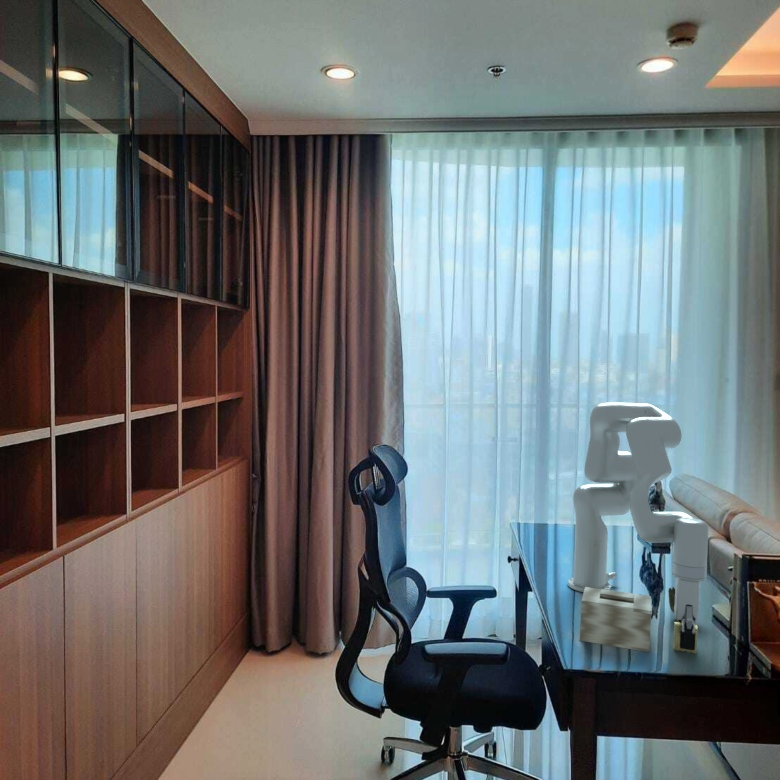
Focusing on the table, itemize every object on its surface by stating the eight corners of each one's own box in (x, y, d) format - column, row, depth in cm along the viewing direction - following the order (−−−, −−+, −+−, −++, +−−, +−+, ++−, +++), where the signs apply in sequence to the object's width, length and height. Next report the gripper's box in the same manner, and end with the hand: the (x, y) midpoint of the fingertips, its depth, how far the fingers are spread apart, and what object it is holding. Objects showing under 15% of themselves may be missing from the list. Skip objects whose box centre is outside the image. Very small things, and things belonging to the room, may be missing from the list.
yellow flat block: (695, 649, 163) (697, 625, 163) (696, 653, 161) (697, 628, 161) (673, 645, 165) (674, 621, 165) (673, 649, 163) (675, 625, 162)
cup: (662, 619, 182) (663, 590, 181) (673, 612, 187) (675, 584, 187) (690, 628, 176) (691, 597, 176) (701, 621, 182) (702, 591, 181)
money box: (649, 635, 171) (651, 596, 170) (649, 652, 160) (651, 610, 160) (583, 624, 176) (585, 586, 176) (579, 640, 166) (581, 600, 166)
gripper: (670, 559, 171) (667, 626, 172) (673, 578, 155) (670, 652, 156) (703, 563, 169) (700, 631, 169) (709, 583, 152) (706, 658, 153)
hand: (685, 641), depth 162 cm, fingers open, 9 cm apart
